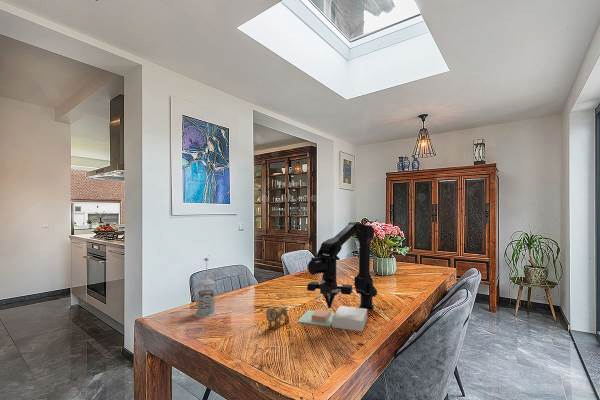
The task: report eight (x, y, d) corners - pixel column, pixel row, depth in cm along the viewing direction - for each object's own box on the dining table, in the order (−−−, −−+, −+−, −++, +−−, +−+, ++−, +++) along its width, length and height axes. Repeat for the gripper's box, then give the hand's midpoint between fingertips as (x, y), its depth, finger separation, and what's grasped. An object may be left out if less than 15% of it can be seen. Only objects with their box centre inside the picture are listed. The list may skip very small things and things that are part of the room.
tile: (330, 310, 134) (330, 315, 134) (317, 308, 136) (317, 313, 136) (325, 317, 125) (325, 322, 125) (311, 315, 127) (311, 320, 127)
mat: (308, 310, 140) (308, 310, 140) (337, 314, 136) (337, 313, 136) (297, 322, 126) (297, 321, 126) (329, 326, 122) (329, 325, 122)
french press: (210, 318, 130) (211, 260, 131) (185, 316, 132) (186, 259, 133) (220, 310, 140) (221, 256, 140) (197, 309, 142) (198, 255, 143)
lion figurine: (274, 333, 115) (274, 309, 115) (262, 330, 117) (262, 307, 118) (291, 320, 128) (291, 299, 129) (280, 318, 131) (280, 297, 131)
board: (339, 314, 135) (339, 305, 136) (367, 318, 132) (367, 308, 132) (332, 327, 121) (332, 317, 121) (362, 331, 117) (362, 321, 117)
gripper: (303, 273, 125) (302, 311, 125) (348, 277, 119) (348, 317, 119) (311, 268, 136) (310, 303, 135) (352, 271, 130) (352, 308, 129)
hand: (329, 308), depth 129 cm, fingers closed
